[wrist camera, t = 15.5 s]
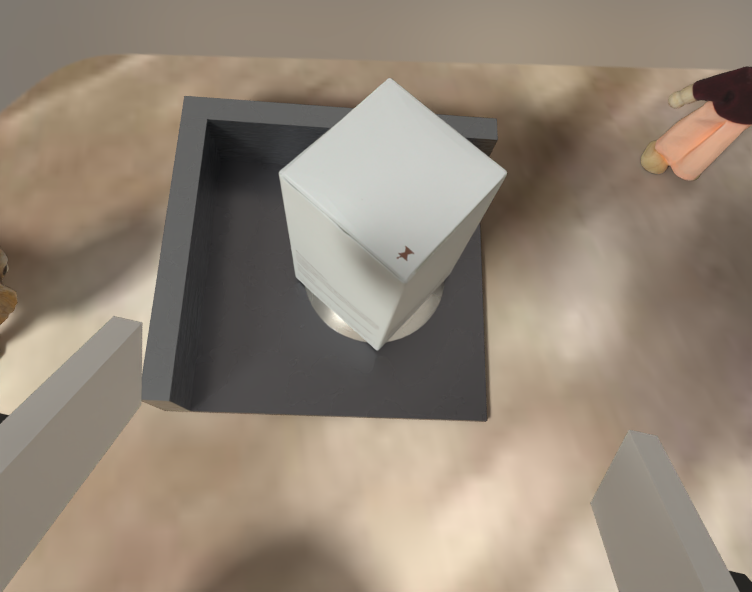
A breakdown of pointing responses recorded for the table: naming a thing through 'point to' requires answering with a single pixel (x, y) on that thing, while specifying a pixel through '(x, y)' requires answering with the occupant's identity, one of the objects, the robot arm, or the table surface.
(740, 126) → the grandmother figurine
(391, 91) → the supplement box
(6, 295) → the lion figurine
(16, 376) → the table surface
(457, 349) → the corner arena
